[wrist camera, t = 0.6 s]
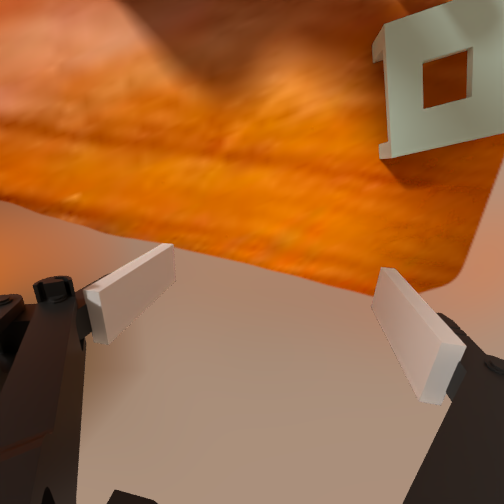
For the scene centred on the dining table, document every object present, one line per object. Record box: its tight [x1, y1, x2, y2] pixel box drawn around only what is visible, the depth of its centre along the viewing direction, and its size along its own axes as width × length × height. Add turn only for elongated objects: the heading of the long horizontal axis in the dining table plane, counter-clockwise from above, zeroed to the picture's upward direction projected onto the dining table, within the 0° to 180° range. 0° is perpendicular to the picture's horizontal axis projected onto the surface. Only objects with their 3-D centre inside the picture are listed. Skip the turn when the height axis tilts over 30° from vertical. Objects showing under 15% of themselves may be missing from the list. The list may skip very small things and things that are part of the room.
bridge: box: [372, 0, 504, 159], centre depth 30 cm, size 14×12×5 cm
